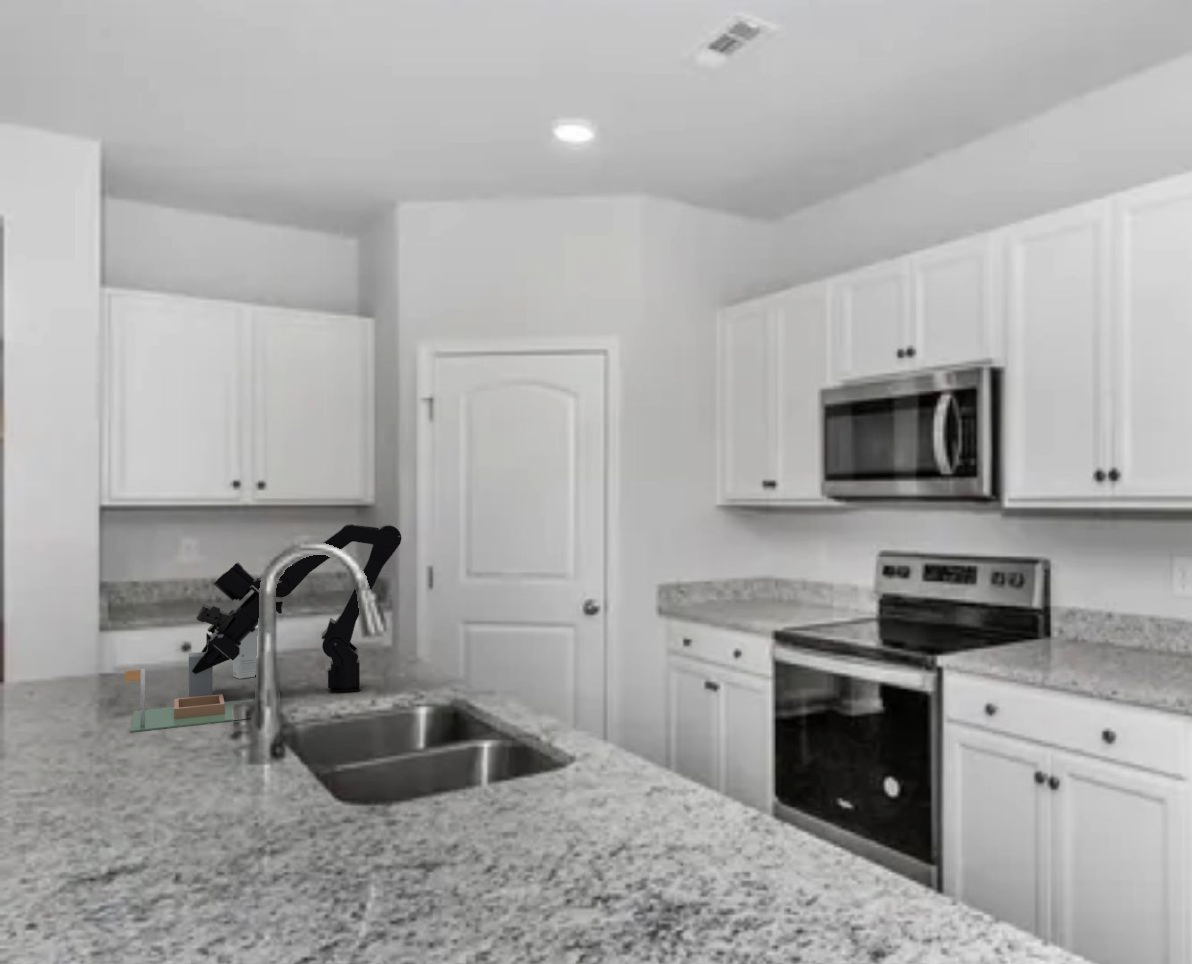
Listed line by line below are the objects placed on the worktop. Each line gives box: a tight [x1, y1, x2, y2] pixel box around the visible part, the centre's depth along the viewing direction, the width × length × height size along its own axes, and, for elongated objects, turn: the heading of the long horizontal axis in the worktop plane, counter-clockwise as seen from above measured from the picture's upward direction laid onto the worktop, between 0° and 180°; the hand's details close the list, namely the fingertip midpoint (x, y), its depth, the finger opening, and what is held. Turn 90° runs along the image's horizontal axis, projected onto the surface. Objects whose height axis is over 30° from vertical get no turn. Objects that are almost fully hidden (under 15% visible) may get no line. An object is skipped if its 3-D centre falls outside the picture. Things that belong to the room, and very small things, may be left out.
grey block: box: [188, 651, 214, 698], centre depth 189 cm, size 5×5×10 cm
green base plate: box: [124, 668, 254, 733], centre depth 177 cm, size 25×16×11 cm, turn 116°
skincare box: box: [232, 624, 259, 680], centre depth 214 cm, size 6×4×12 cm
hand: (193, 670), depth 189 cm, fingers closed on grey block, 5 cm apart
